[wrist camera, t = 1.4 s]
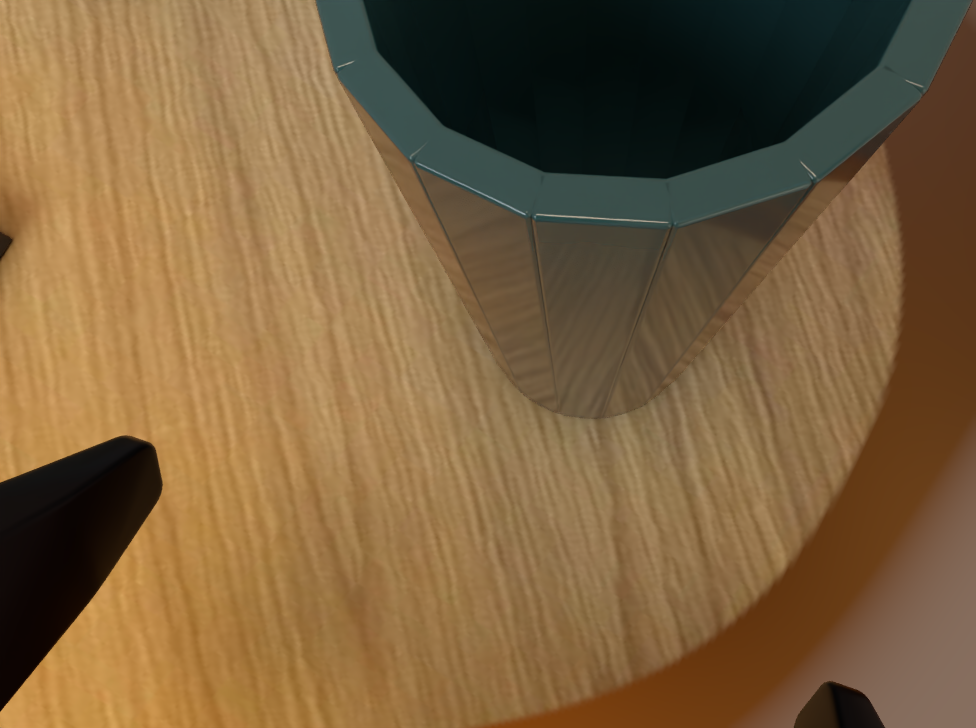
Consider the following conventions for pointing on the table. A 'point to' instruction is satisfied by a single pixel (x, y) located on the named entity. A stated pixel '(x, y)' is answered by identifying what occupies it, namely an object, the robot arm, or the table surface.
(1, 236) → the scale
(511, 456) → the table surface
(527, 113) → the tumbler
